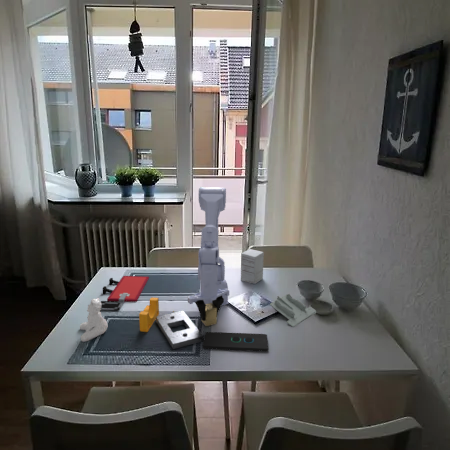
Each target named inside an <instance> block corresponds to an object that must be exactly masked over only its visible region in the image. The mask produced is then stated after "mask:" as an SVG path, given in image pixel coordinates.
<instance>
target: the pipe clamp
mask: <svg viewBox="0 0 450 450" xmlns="http://www.w3.org/2000/svg"><path fill="white" fill-rule="evenodd" d="M159 303H160V301H159V297H150V299H149V305H146V306H145V308H144V309H143V310H141V311H140V312H139V314H138V317H139V321H138V323H139V331H140V332H144V333H148V332H149V331H150V329H151V327H152V326H153V324H154V323H155V322H156V317H157V316H160V304H159Z"/></svg>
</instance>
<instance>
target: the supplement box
mask: <svg viewBox="0 0 450 450" xmlns="http://www.w3.org/2000/svg"><path fill="white" fill-rule="evenodd" d="M264 256H265V254H264V251H260V250H256V249H251V248H249V249H247V250H245V251H243V252H242V253H241V255H240V281H242V282H246V283H249V284H253V285H256V284H257V283H259V282H260V281H261V280H263V279H264Z"/></svg>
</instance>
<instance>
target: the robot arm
mask: <svg viewBox="0 0 450 450" xmlns="http://www.w3.org/2000/svg"><path fill="white" fill-rule="evenodd" d="M198 203H199V208H200V210H201V211H203V212H204V213H205V217H204V220H205V225H204V227H203V228H202V229H201V235H200V237H201V238H200V239H201V240H200V248H199V249H198V259H197V260H198V267H197V279H198V281H199V286H200V287H199V288H200V290H199V292H196V293H195V294H192V295H189V296H187V302H188V304H189V305H192V304H193V303H194V304H195V305H196V307H197V309H198V313H199V316H200V320H201V319H202V320H203V321H205V309H206V304H208V303H213V304H214V305H215V306H216V308H217V317H218V316H219V312H220V310H221V307H222V306H225V305H226V306H227V305H228V304H229V296H230V290H229V286H228V283H227V281H226V279H225V273H226V270H225V269H226V266H225V260H224V259H223V258H221V256H220V247H219V235H220V234H219V231H220V230H219V216H220V213H221V212H222V211H225V210H226V203H227V189H226V187H206V186H205V187H203V186H200V188H198Z"/></svg>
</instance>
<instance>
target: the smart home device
mask: <svg viewBox="0 0 450 450" xmlns="http://www.w3.org/2000/svg"><path fill="white" fill-rule="evenodd" d="M202 349H203V350H211V351H214V350H215V351H218V350H219V351H237V352H238V351H239V352H240V351H241V352H258V353H259V352H260V353H268V352H269V342H268V334H265V333H252V332H251V333H249V332H227V331H226V332H221V331H205V332H204V335H203V341H202Z"/></svg>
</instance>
